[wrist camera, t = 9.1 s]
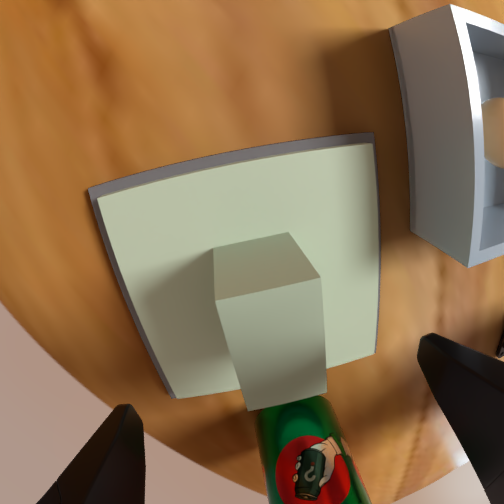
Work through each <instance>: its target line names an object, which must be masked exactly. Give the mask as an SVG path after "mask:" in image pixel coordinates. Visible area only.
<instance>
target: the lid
mask: <svg viewBox="0 0 504 504" xmlns="http://www.w3.org/2000/svg"><path fill="white" fill-rule="evenodd" d="M97 200H98V204H99V207H100V210H101V214H102V217H103V220H104V224H105V227H106V230H107V233H108V236H109V239H110V242H111V245H112V248H113V251H114V254H115V257H116V260H117V263H118V266H119V268H120V271H121V274H122V277H123V279H124V282H125V285H126V287H127V290H128V292H129V295H130V297H131V300H132V302H133V305H134V307H135V310H136V312H137V315H138V317H139V319H140V322H141V324H142V326H143V329H144V331H145V333H146V336H147V338H148V340H149V342H150V345H151V347H152V349H153V351H154V353H155V355H156V357H157V360H158V362H159V364H160V366H161V368H162V370H163V372H164V374H165V376H166V378H167V380H168V382H169V384H170V386H171V388H172V390H173V392H174V394H175V396H176V398H177V399H180V398H188V397H195V396H202V395H208V394H215V393H221V392H226V391H232V390H237V389H241V391H242V394H243V397H244V400H245V403H246V406H247V409H248V411H252V410H257V409H262V408H267V407H271V406H276V405H280V404H285V403H289V402H293V401H297V400H301V399H305V398H309V397H312V396H316V395H320V394H323V393H327V376H326V369H327V368H330V367H334V366H337V365H341V364H344V363H347V362H351V361H354V360H357V359H360V358H363V357H366V356H369V355H372V354H374V350H375V339H376V325H377V307H378V276H379V238H378V207H377V189H376V175H375V163H374V153H373V144H371V143H358V144H349V145H341V146H332V147H325V148H317V149H310V150H303V151H297V152H290V153H284V154H278V155H272V156H266V157H261V158H255V159H250V160H244V161H239V162H234V163H229V164H224V165H219V166H215V167H210V168H205V169H201V170H196V171H192V172H188V173H183V174H179V175H175V176H171V177H167V178H163V179H159V180H155V181H151V182H147V183H143V184H140V185H136V186H132V187H129V188H125V189H122V190H118V191H115V192H111V193H108V194H105V195H102V196H100V197H99V198H97Z"/></svg>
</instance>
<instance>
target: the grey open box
mask: <svg viewBox="0 0 504 504" xmlns="http://www.w3.org/2000/svg"><path fill="white" fill-rule="evenodd" d="M388 29H389V33H390V38H391V42H392V47H393V51H394V56H395V61H396V66H397V72H398V77H399V83H400V89H401V96H402V103H403V110H404V119H405V128H406V138H407V149H408V163H409V183H410V231H411V232H413V233H414V234H416V235H418V236H419V237H421V238H423V239H424V240H426V241H427V242H429V243H431V244H432V245H434V246H435V247H437V248H438V249H440V250H441V251H443V252H445V253H446V254H448V255H449V256H451V257H452V258H454V259H455V260H457V261H458V262H460V263H461V264H463V265H464V266H466V267H467V268H470V267H472V266H475V265H478V264H480V263H483V262H486V261H488V260H491V259H493V258H496V257H499V256H501V255H504V24H502V23H500V22H497V21H495V20H492V19H490V18H488V17H485V16H483V15H480V14H477V13H475V12H472V11H469V10H466V9H463V8H460V7H457V6H454V5H451V4H449V5H446V6H443V7H440V8H437V9H435V10H432V11H429V12H427V13H424V14H422V15H419V16H417V17H414V18H412V19H409V20H407V21H404V22H402V23H400V24H397V25H395V26H393V27H391V28H388Z"/></svg>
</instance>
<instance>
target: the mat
mask: <svg viewBox="0 0 504 504" xmlns="http://www.w3.org/2000/svg"><path fill="white" fill-rule="evenodd" d="M358 143H371V144H373V153H374V163H375V175H376V189H377V207H378V238H379V276H378V307H377V325H376V339H375V350H374V353H376V345H377V333H378V319H379V301H380V271H381V232H380V202H379V184H378V170H377V159H376V148H375V139H374V132H365V133H354V134H344V135H335V136H326V137H317V138H310V139H302V140H295V141H288V142H282V143H275V144H269V145H263V146H257V147H251V148H246V149H241V150H235V151H230V152H225V153H220V154H215V155H210V156H206V157H201V158H197V159H192V160H188V161H184V162H179V163H175V164H171V165H167V166H163V167H159V168H155V169H151V170H148V171H144V172H140V173H136V174H133V175H129V176H126V177H122V178H119V179H115V180H112V181H109V182H105V183H102V184H99V185H96V186H93V187H90V188H88V191H89V195H90V199H91V202H92V206H93V209H94V212H95V216H96V219H97V222H98V226H99V229H100V232H101V235H102V238H103V241H104V244H105V247H106V250H107V253H108V256H109V259H110V261H111V264H112V267H113V270H114V272H115V275H116V278H117V280H118V283H119V286H120V288H121V291H122V293H123V296H124V298H125V301H126V303H127V306H128V308H129V311H130V313H131V315H132V318H133V320H134V322H135V325H136V327H137V329H138V331H139V334H140V336H141V338H142V340H143V343H144V345H145V347H146V349H147V351H148V353H149V355H150V357H151V360H152V362H153V364H154V366H155V368H156V370H157V372H158V374H159V376H160V378H161V380H162V382H163V384H164V385H165V387H166V389H167V391H168V393H169V395H170V397H171V399H172V398H176V396H175V394H174V392H173V390H172V388H171V386H170V384H169V382H168V380H167V378H166V376H165V374H164V372H163V370H162V368H161V366H160V364H159V362H158V360H157V357H156V355H155V353H154V351H153V349H152V347H151V345H150V342H149V340H148V338H147V336H146V333H145V331H144V329H143V326H142V324H141V322H140V319H139V317H138V315H137V312H136V310H135V307H134V305H133V302H132V300H131V297H130V295H129V292H128V290H127V287H126V285H125V282H124V279H123V277H122V274H121V271H120V268H119V266H118V263H117V260H116V257H115V254H114V251H113V248H112V245H111V242H110V239H109V236H108V233H107V230H106V227H105V224H104V220H103V217H102V214H101V210H100V207H99V204H98V200H97V198H99V197H100V196H102V195H105V194H108V193H111V192H115V191H118V190H122V189H125V188H129V187H132V186H136V185H140V184H143V183H147V182H151V181H155V180H159V179H163V178H167V177H171V176H175V175H179V174H183V173H188V172H192V171H196V170H201V169H205V168H210V167H215V166H219V165H224V164H229V163H234V162H239V161H244V160H250V159H255V158H261V157H266V156H272V155H278V154H284V153H290V152H297V151H303V150H310V149H317V148H325V147H332V146H341V145H349V144H358Z"/></svg>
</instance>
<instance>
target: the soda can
mask: <svg viewBox="0 0 504 504" xmlns="http://www.w3.org/2000/svg"><path fill="white" fill-rule="evenodd" d="M255 430H256V436H257V442H258V447H259V453H260V459H261V464H262V470H263V475H264V480H265V486H266V491H267V496H268V501H269V504H372V503H371V500H370V498H369V495H368V493H367V490H366V488H365V485H364V483H363V480H362V478H361V475H360V473H359V470H358V468H357V466H356V463H355V461H354V458H353V456H352V453H351V451H350V448H349V446H348V444H347V441H346V439H345V436H344V434H343V431H342V429H341V427H340V424H339V422H338V419H337V417H336V415H335V412H334V410H333V407H332V405H331V403H330V402H329V401H328V400H327V399H326V398H324V397H321V396H319V395H316V396H312V397H309V398H305V399H301V400H297V401H293V402H289V403H285V404H280V405H276V406H271V407H267V408H264V409H263V410H262V411H261V412H260V413H259V415H258V416H257V418H256V421H255Z"/></svg>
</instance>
